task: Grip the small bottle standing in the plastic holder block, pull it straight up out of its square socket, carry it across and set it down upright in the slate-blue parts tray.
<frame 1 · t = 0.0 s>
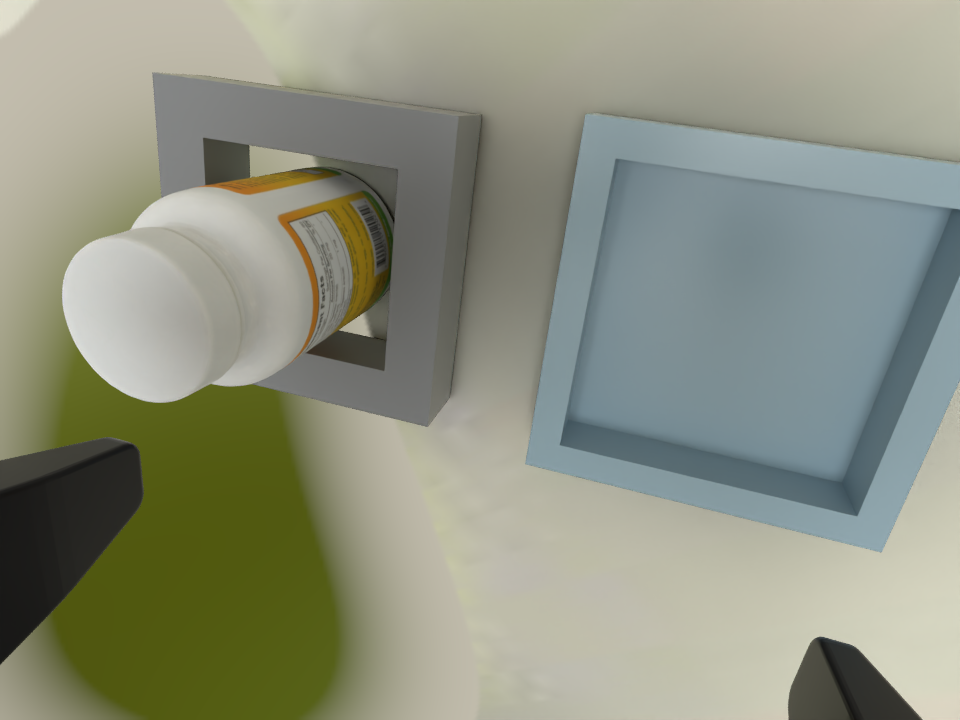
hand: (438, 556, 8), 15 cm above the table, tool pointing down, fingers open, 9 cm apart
supplement bottle: (335, 241, 24), resting in holder
holder: (332, 243, 23), on the table
parts tray: (734, 319, 21), on the table
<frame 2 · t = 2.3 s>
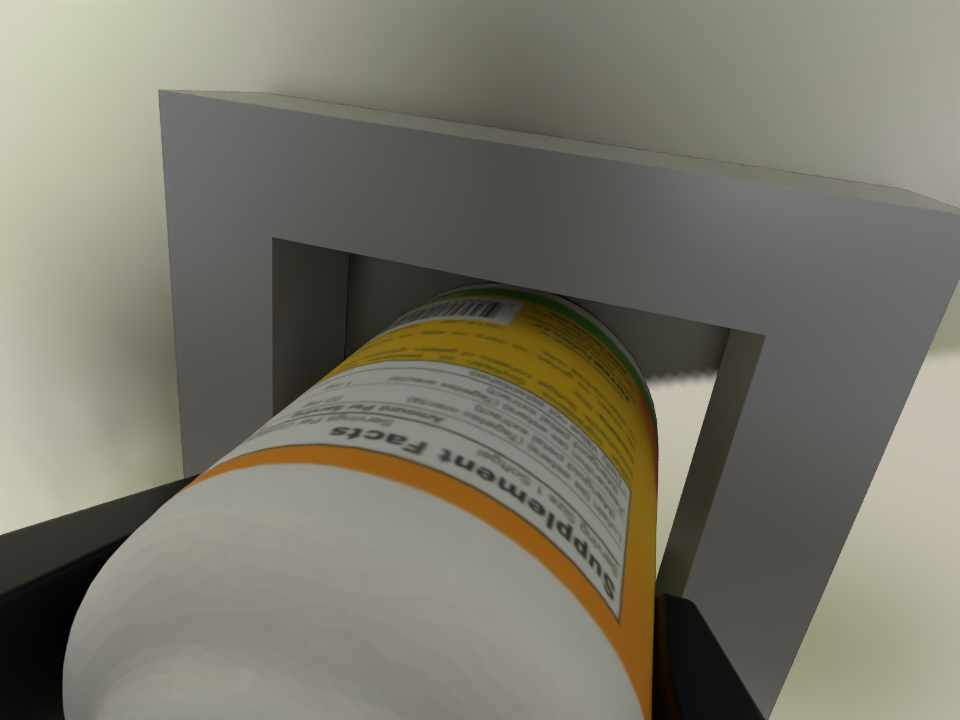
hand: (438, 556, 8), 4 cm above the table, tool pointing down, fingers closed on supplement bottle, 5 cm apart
supplement bottle: (510, 415, 12), resting in holder, touching gripper
holder: (507, 420, 12), on the table
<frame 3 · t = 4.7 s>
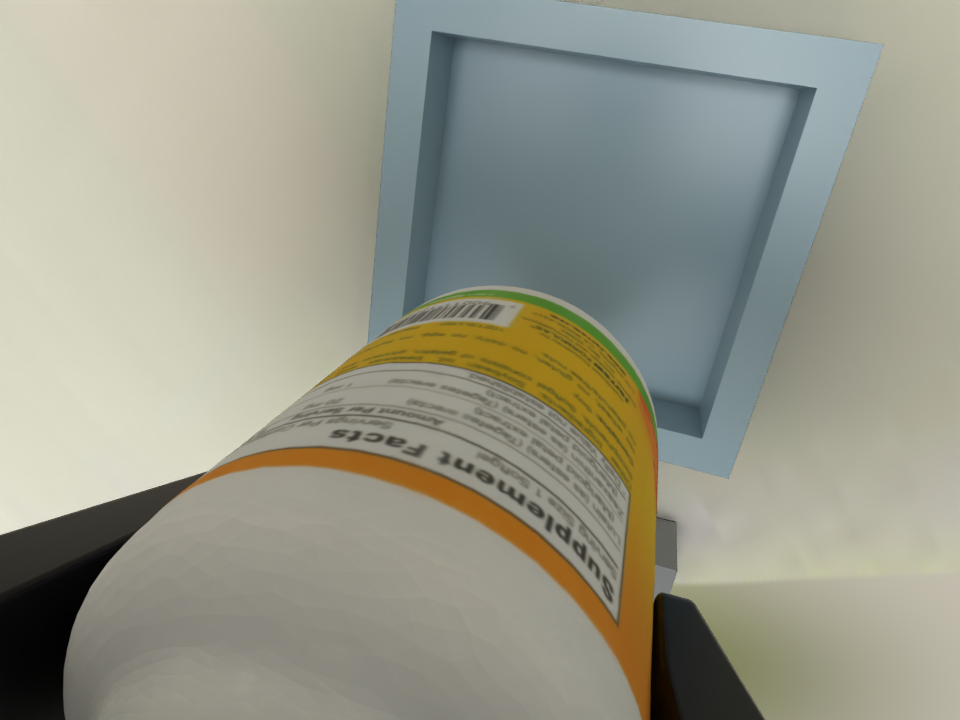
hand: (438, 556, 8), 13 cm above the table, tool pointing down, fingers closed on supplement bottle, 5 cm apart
supplement bottle: (510, 416, 12), point 9 cm above the table, touching gripper
holder: (508, 592, 25), on the table
parts tray: (585, 229, 19), on the table
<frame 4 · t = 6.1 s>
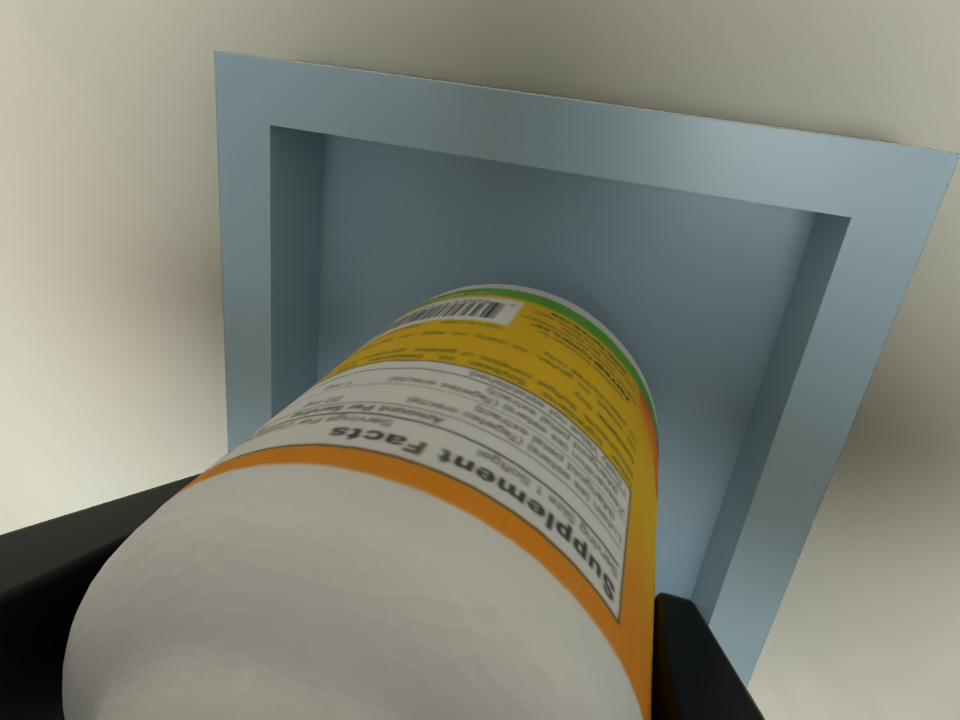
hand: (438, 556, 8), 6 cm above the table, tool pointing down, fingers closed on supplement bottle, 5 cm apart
supplement bottle: (510, 415, 12), point 2 cm above the table, touching gripper
parts tray: (523, 372, 14), on the table
when the fingers open (6 cm above the table, at t = 7.0 s): supplement bottle drops 1 cm, resting on parts tray.
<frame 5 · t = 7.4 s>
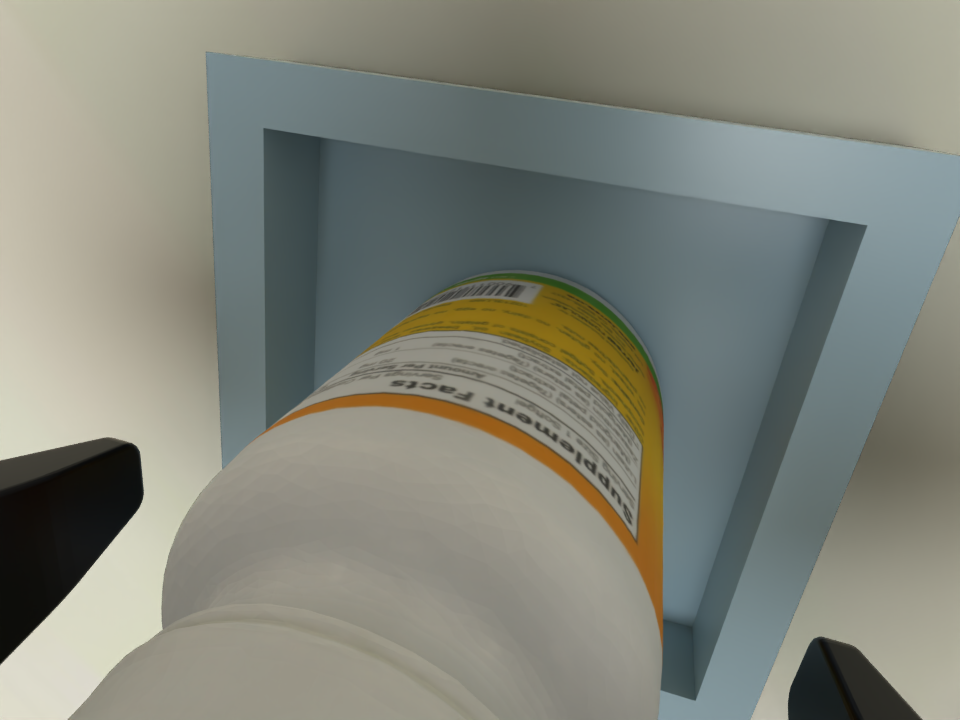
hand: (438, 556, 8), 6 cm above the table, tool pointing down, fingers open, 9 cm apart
supplement bottle: (525, 392, 13), resting on parts tray
parts tray: (525, 382, 14), on the table
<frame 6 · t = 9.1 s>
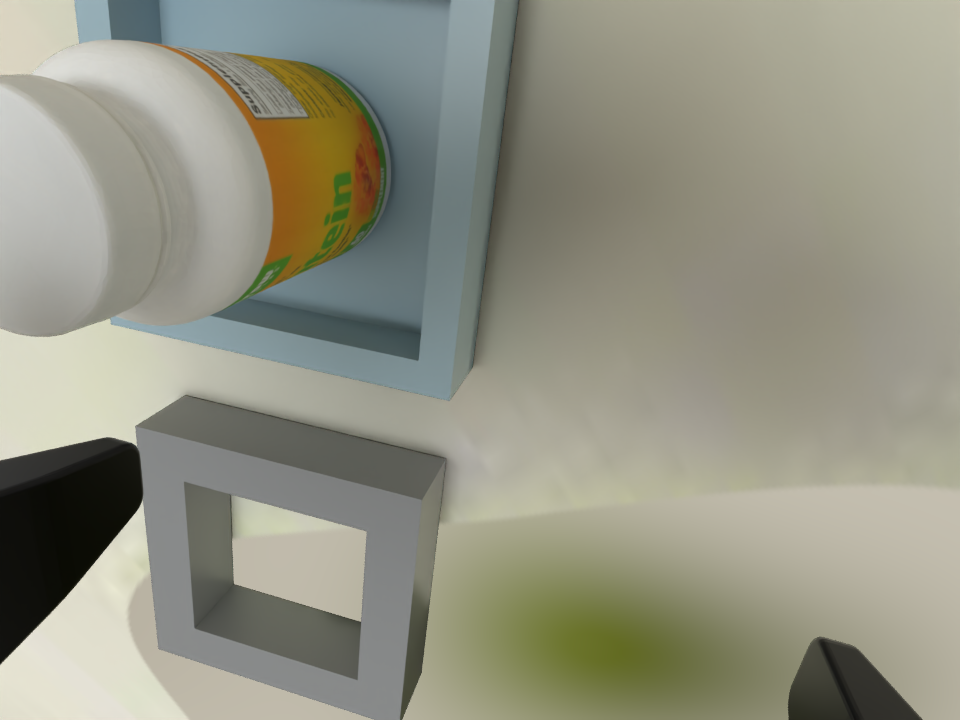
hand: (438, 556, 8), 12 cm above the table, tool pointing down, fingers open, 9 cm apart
supplement bottle: (311, 164, 19), resting on parts tray
holder: (308, 540, 25), on the table
parts tray: (315, 160, 19), on the table
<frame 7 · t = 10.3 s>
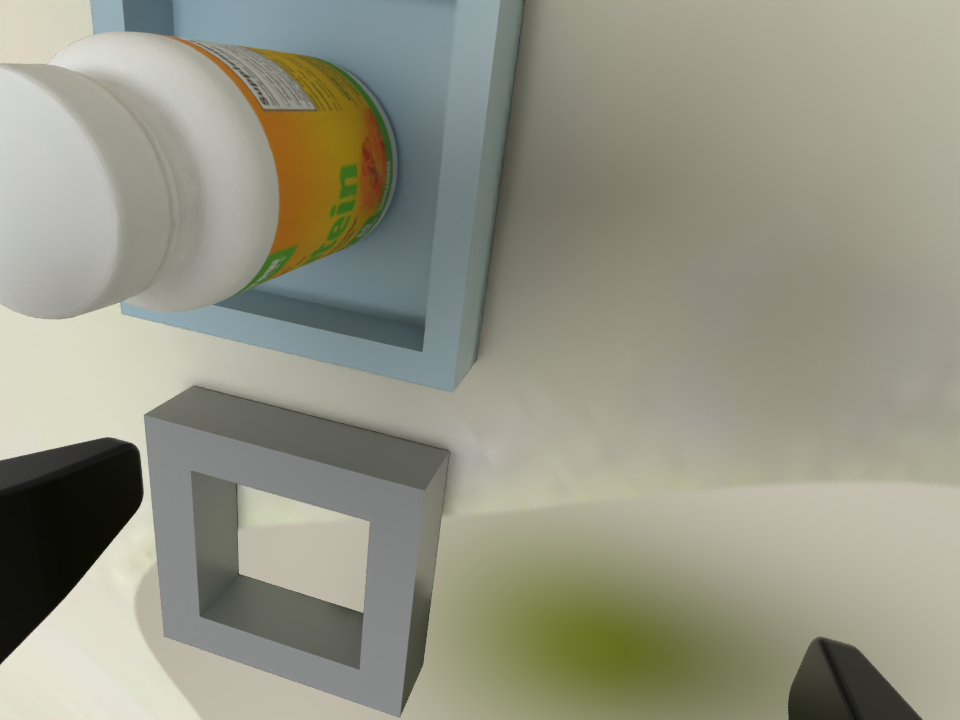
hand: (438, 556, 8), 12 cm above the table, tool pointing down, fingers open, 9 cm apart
supplement bottle: (319, 157, 19), resting on parts tray
holder: (312, 530, 25), on the table
parts tray: (323, 154, 19), on the table
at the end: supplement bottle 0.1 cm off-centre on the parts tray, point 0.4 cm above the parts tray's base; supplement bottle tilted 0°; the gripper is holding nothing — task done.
